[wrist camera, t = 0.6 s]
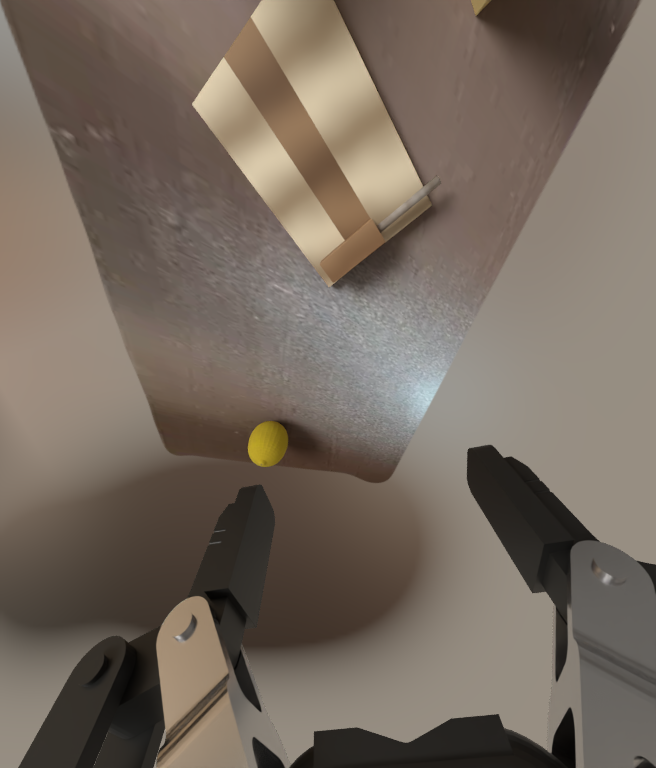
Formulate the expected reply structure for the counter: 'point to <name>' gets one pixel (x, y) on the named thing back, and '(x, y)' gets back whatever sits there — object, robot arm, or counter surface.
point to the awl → (367, 238)
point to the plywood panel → (309, 127)
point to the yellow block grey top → (479, 5)
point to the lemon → (268, 443)
